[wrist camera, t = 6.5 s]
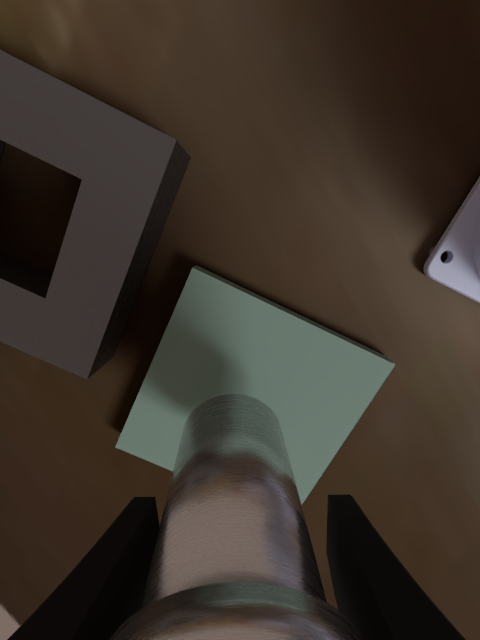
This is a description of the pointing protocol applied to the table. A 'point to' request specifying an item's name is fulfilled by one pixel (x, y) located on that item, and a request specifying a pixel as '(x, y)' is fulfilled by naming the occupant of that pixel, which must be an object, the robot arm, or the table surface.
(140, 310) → the table surface
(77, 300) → the metal housing
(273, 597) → the polished metal knob
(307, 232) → the table surface
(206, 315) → the rubber mat
